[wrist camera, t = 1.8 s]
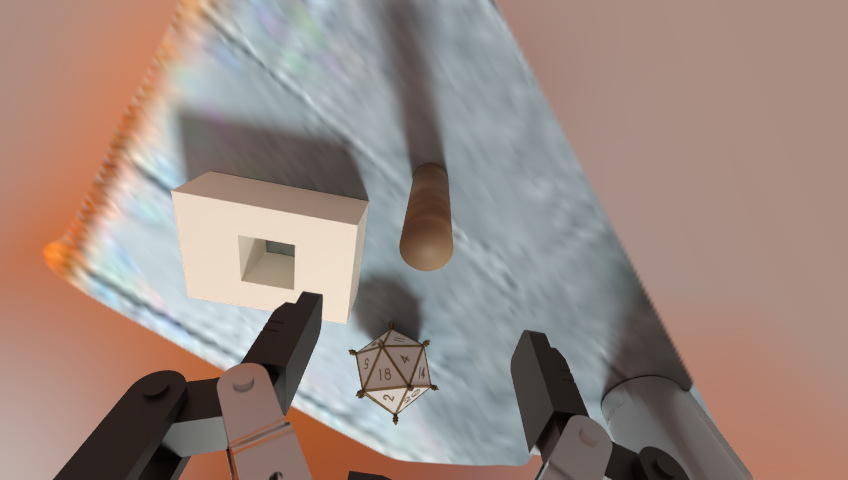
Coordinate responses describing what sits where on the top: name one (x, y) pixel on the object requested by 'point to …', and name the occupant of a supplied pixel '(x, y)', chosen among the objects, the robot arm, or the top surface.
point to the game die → (393, 371)
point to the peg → (428, 220)
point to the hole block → (276, 221)
